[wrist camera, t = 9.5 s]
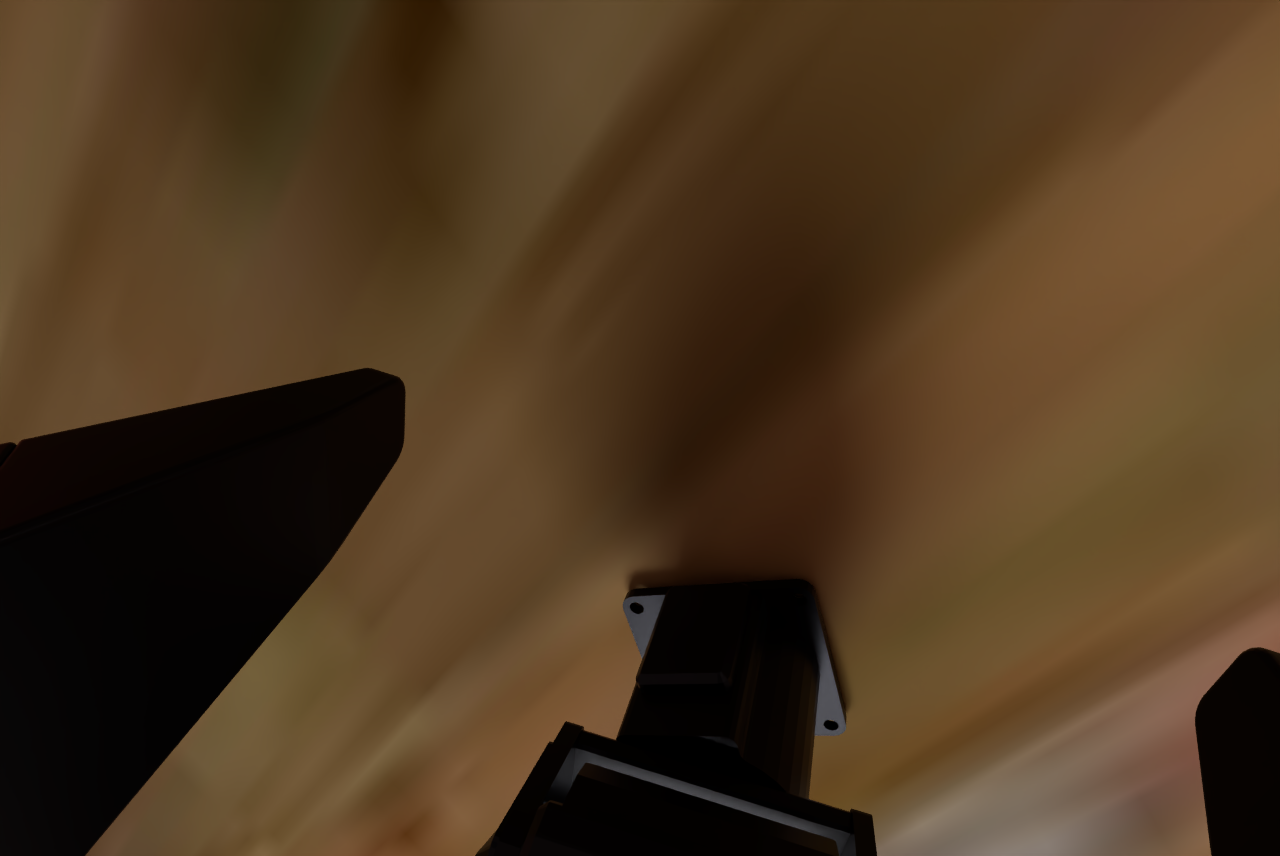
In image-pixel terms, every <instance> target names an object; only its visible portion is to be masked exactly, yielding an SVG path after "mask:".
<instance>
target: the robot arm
mask: <svg viewBox="0 0 1280 856" xmlns="http://www.w3.org/2000/svg"><path fill="white" fill-rule="evenodd" d="M404 431H405V386H404V383H403V381H402V380H401V379H400V378H399V377H397V376H394V375H391V374H388V373H385V372H381V371H378V370H375V369H372V368H363V369H358V370H354V371H349V372H344V373H339V374H334V375H330V376H325V377H320V378H315V379H311V380H306V381H301V382H296V383H291V384H287V385H282V386H277V387H272V388H268V389H263V390H258V391H253V392H248V393H244V394H239V395H234V396H229V397H225V398H220V399H215V400H210V401H205V402H201V403H196V404H191V405H186V406H182V407H177V408H172V409H167V410H162V411H158V412H153V413H148V414H143V415H139V416H134V417H129V418H124V419H119V420H115V421H110V422H105V423H100V424H96V425H91V426H86V427H81V428H77V429H72V430H67V431H62V432H57V433H53V434H48V435H43V436H38V437H34V438H29V439H24V440H21V441H20V442H19V443H18V445H16V444H15V443H12V442H8V443H4V444H0V856H85V855H86V854H87V853H88V852H89V850H90V849H91V848H92V847H93V846H94V844H95V843H96V842H97V841H98V840H99V838H100V837H101V836H102V835H103V834H104V832H105V831H106V830H107V829H108V828H109V826H110V825H111V824H112V823H113V822H114V820H115V819H116V818H117V817H118V816H119V814H120V813H121V812H122V811H123V810H124V808H125V807H126V806H127V805H128V804H129V802H130V801H131V800H132V799H133V798H134V796H135V795H136V794H137V793H138V792H139V790H140V789H141V788H142V787H143V786H144V784H145V783H146V782H147V781H148V780H149V778H150V777H151V776H152V775H153V774H154V773H155V771H156V770H157V769H158V768H159V767H160V765H161V764H162V763H163V762H164V761H165V759H166V758H167V757H168V756H169V755H170V753H171V752H172V751H173V750H174V749H175V747H176V746H177V745H178V744H179V743H180V741H181V740H182V739H183V738H184V737H185V735H186V734H187V733H188V732H189V731H190V729H191V728H192V727H193V726H194V725H195V723H196V722H197V721H198V720H199V719H200V717H201V716H202V715H203V714H204V713H205V711H206V710H207V709H208V708H209V707H210V705H211V704H212V703H213V702H214V701H215V699H216V698H217V697H218V696H219V695H220V693H221V692H222V691H223V690H224V689H225V687H226V686H227V685H228V684H229V683H230V681H231V680H232V679H233V678H234V677H235V675H236V674H237V673H238V672H239V671H240V669H241V668H242V667H243V666H244V665H245V663H246V662H247V661H248V660H249V659H250V657H251V656H252V655H253V654H254V653H255V651H256V650H257V649H258V648H259V647H260V645H261V644H262V643H263V642H264V641H265V639H266V638H267V637H268V636H269V635H270V633H271V632H272V631H273V630H274V629H275V627H276V626H277V625H278V624H279V623H280V621H281V620H282V619H283V618H284V617H285V615H286V614H287V613H288V612H289V611H290V609H291V608H292V607H293V606H294V605H295V603H296V602H297V601H298V600H299V599H300V597H301V596H302V595H303V594H304V593H305V591H306V590H307V589H308V588H309V587H310V585H311V584H312V583H313V582H314V581H315V579H316V578H317V577H318V576H319V575H320V573H321V572H322V571H323V569H324V568H325V567H326V566H327V564H328V563H329V562H330V561H331V559H332V558H333V556H334V555H335V554H336V552H337V551H338V549H339V548H340V546H341V545H342V544H343V542H344V541H345V539H346V538H347V536H348V534H349V533H350V531H351V530H352V528H353V527H354V525H355V524H356V522H357V521H358V519H359V518H360V516H361V515H362V513H363V512H364V510H365V509H366V507H367V506H368V504H369V502H370V501H371V499H372V498H373V496H374V495H375V493H376V492H377V490H378V489H379V487H380V486H381V484H382V483H383V481H384V480H385V478H386V477H387V475H388V473H389V472H390V470H391V469H392V467H393V466H394V464H395V463H396V461H397V460H398V458H399V456H400V453H401V451H402V448H403V443H404ZM796 593H798V594H802V595H804V596H805V597H803V598H799V597H796V596H794V595H793V594H796ZM634 602H636V603H640V604H641V605H642V606H638V605H636V604H635V603H634ZM623 609H624V612H625V615H626V617H627V620H628V623H629V625H630V628H631V630H632V633H633V636H634V638H635V641H636V644H637V646H638V649H639V652H640V654H641V657H642V662H641V664H640V667H639V670H638V673H637V675H636V685H635V687H634V690H633V693H632V696H631V699H630V701H629V704H628V707H627V710H626V713H625V715H624V718H623V721H622V724H621V727H620V729H619V732H618V735H617V738H616V740H614V739H611V738H608V737H604V736H601V735H598V734H595V733H591V732H588V731H585V730H584V727H583V726H580V725H577V724H573V723H570V722H567V721H566V722H565V723H564V725H563V727H562V728H561V730H560V732H559V733H558V735H557V737H556V739H555V740H554V742H549V743H548V745H547V746H546V748H545V750H544V751H543V753H542V755H541V756H540V758H539V760H538V762H537V763H536V765H535V767H534V768H533V770H532V772H531V773H530V775H529V777H528V778H527V780H526V782H525V784H524V785H523V787H522V789H521V790H520V792H519V794H518V795H517V797H516V799H515V800H514V802H513V804H512V806H511V807H510V809H509V811H508V812H507V814H506V816H505V817H504V819H503V821H502V822H501V824H500V826H499V828H498V829H497V830H496V832H495V833H494V834H493V835H492V836H491V837H490V839H489V840H488V841H487V842H486V843H485V844H484V845H483V847H482V848H481V849H480V850H479V851H478V852H477V854H476V855H475V856H877V851H876V843H875V835H874V826H873V818H872V815H871V814H867V813H864V812H861V811H858V810H854V809H851V810H850V812H849V811H845V810H842V809H839V808H836V807H832V806H829V805H826V804H823V803H819V802H816V801H813V800H810V799H809V789H810V778H811V768H812V757H813V746H814V736H815V735H830V736H834V735H840V734H842V733H843V732H844V731H845V730H846V712H845V708H844V704H843V700H842V696H841V692H840V688H839V684H838V680H837V676H836V672H835V668H834V664H833V660H832V656H831V652H830V648H829V644H828V640H827V635H826V631H825V627H824V623H823V619H822V615H821V611H820V607H819V603H818V599H817V595H816V591H815V589H814V587H813V585H811V584H810V583H809V582H807V581H805V580H801V579H789V580H773V581H757V582H740V583H724V584H708V585H691V586H675V587H659V588H643V589H633V590H630V591H629V592H628V593H627V595H626V598H625V600H624V602H623ZM829 720H834V721H829ZM1195 727H1196V735H1197V744H1198V752H1199V760H1200V768H1201V776H1202V784H1203V792H1204V801H1205V809H1206V817H1207V825H1208V833H1209V841H1210V849H1211V855H1212V856H1280V653H1277V652H1274V651H1271V650H1268V649H1264V648H1260V647H1258V648H1250V649H1248V650H1246V651H1244V652H1242V653H1241V654H1240V655H1239V656H1238V657H1237V658H1236V660H1235V661H1234V662H1233V663H1232V664H1231V665H1230V666H1229V668H1228V669H1227V670H1226V671H1225V672H1224V673H1223V674H1222V675H1221V677H1220V678H1219V679H1218V680H1217V681H1216V682H1215V683H1214V685H1213V686H1212V687H1211V688H1210V689H1209V690H1208V691H1207V692H1206V694H1205V695H1204V696H1203V697H1202V699H1201V700H1200V702H1199V704H1198V707H1197V710H1196V716H1195Z"/></svg>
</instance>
